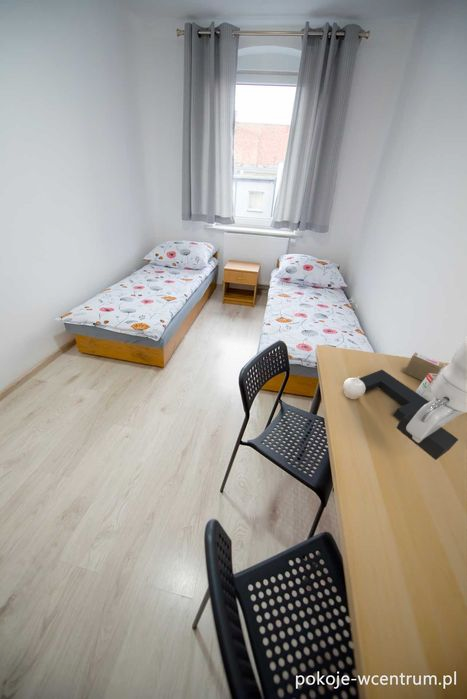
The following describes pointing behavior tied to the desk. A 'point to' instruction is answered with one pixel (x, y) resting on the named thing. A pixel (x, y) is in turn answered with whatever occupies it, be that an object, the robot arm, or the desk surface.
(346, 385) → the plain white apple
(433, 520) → the desk surface
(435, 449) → the small pad
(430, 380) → the ink box
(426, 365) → the ink box
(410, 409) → the big pad
